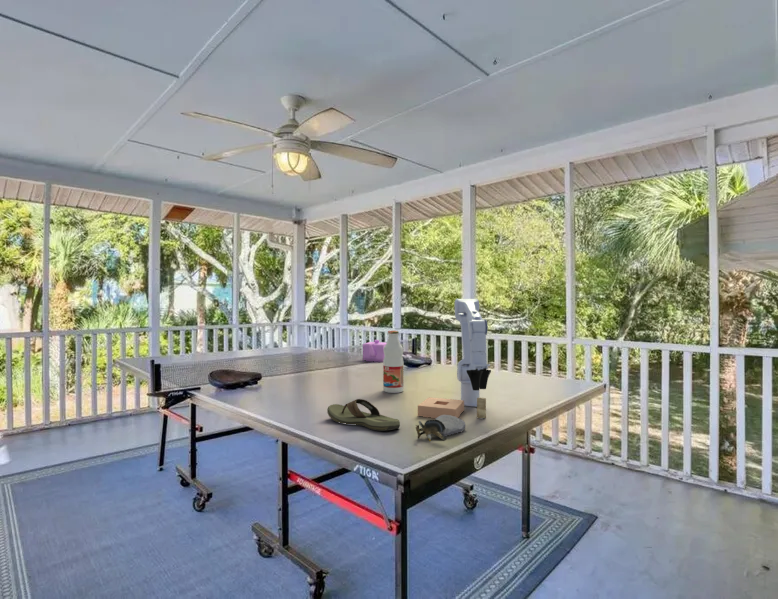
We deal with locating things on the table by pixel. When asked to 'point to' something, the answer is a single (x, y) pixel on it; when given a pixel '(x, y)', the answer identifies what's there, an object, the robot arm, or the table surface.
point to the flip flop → (362, 416)
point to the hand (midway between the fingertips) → (479, 389)
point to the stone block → (451, 424)
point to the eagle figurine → (431, 428)
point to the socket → (440, 407)
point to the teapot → (374, 351)
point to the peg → (481, 407)
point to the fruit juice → (393, 364)
